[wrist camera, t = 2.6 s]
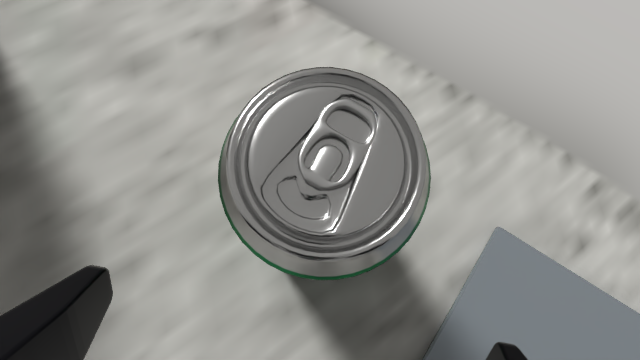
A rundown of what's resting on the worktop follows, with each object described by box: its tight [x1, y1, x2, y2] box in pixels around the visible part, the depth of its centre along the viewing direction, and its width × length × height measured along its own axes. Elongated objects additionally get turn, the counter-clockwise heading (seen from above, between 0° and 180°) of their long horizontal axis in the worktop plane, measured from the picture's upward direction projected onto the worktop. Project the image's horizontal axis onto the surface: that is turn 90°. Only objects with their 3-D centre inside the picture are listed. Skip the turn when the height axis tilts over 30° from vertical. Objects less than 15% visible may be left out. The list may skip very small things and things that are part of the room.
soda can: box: [218, 67, 431, 280], centre depth 15 cm, size 5×5×12 cm
